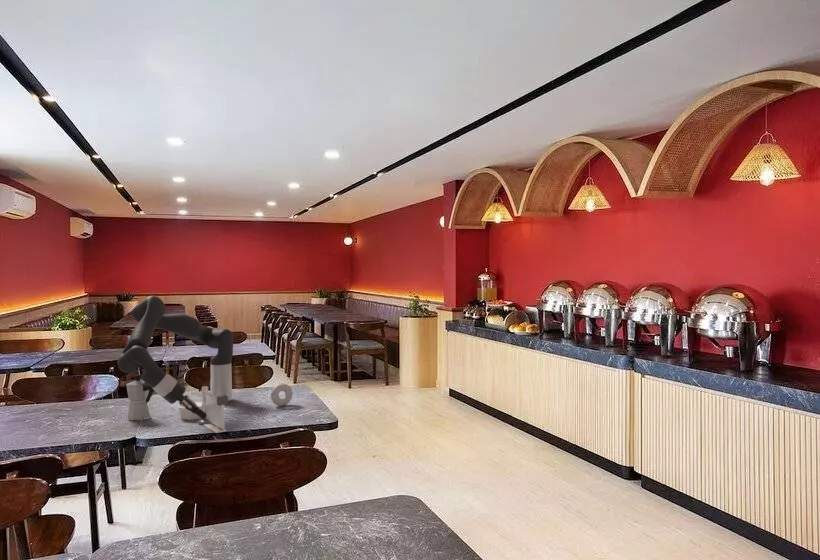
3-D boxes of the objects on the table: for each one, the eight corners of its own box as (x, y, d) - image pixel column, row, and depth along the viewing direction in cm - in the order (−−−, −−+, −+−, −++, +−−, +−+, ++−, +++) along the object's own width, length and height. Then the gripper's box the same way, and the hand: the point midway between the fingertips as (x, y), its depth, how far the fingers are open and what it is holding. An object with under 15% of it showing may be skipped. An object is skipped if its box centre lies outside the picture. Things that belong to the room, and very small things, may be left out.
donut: (291, 403, 263) (290, 381, 263) (294, 404, 261) (293, 382, 260) (269, 406, 258) (269, 384, 257) (272, 408, 255) (272, 385, 255)
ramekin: (173, 417, 241) (173, 405, 241) (199, 412, 250) (199, 400, 249) (186, 422, 234) (186, 409, 234) (212, 416, 242) (212, 404, 242)
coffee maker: (118, 419, 240) (117, 375, 239) (136, 413, 248) (135, 371, 247) (144, 423, 233) (143, 378, 233) (162, 417, 241) (161, 374, 241)
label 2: (210, 429, 223) (210, 428, 223) (220, 427, 226) (220, 426, 226) (216, 433, 218) (216, 431, 218) (226, 431, 221) (226, 429, 221)
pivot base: (194, 422, 233) (194, 420, 233) (208, 419, 237) (208, 417, 237) (202, 425, 229) (202, 423, 229) (216, 422, 233) (216, 419, 233)
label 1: (204, 425, 229) (204, 424, 229) (214, 423, 231) (214, 422, 231) (209, 428, 224) (209, 427, 224) (219, 427, 226) (219, 425, 226)
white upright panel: (200, 419, 233) (199, 386, 232) (208, 417, 235) (207, 385, 234) (219, 430, 216) (219, 396, 216) (228, 429, 218) (227, 394, 218)
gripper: (159, 392, 218) (195, 420, 224) (163, 400, 206) (200, 429, 212) (174, 377, 220) (209, 405, 226) (178, 383, 209) (215, 412, 215)
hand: (204, 416), depth 219 cm, fingers closed
